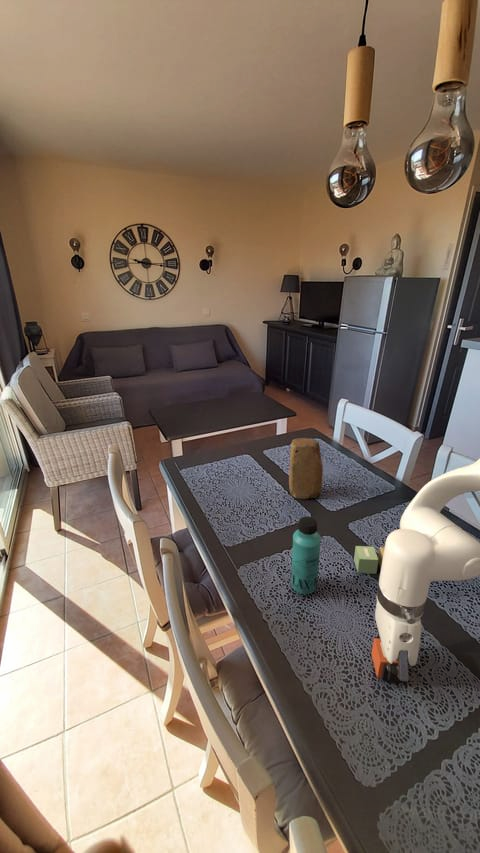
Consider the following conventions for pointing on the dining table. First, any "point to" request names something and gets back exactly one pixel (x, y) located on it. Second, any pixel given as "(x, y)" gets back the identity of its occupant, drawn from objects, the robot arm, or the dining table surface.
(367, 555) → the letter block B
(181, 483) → the dining table surface
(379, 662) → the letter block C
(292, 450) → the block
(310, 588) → the beverage bottle
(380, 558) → the tan wooden toy cube
